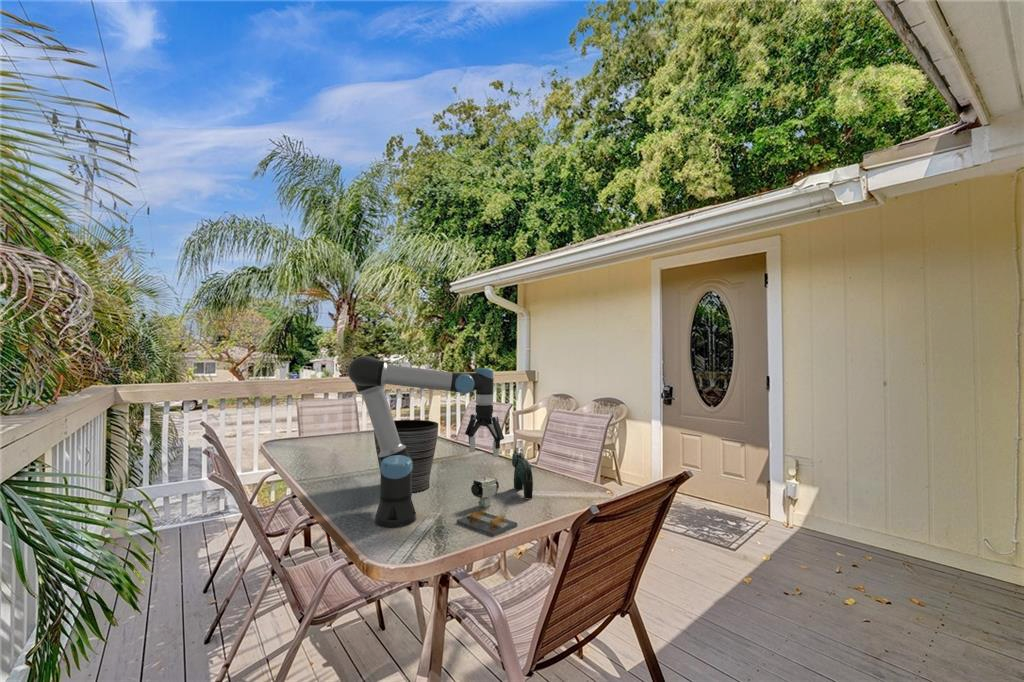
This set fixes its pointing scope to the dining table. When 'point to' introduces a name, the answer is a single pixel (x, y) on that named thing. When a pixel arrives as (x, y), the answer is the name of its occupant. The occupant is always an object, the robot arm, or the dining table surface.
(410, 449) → the planter pot
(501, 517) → the rail plate
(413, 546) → the dining table surface
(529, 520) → the dining table surface
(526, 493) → the green spring clamp
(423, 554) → the dining table surface
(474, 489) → the pneumatic valve
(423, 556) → the dining table surface
